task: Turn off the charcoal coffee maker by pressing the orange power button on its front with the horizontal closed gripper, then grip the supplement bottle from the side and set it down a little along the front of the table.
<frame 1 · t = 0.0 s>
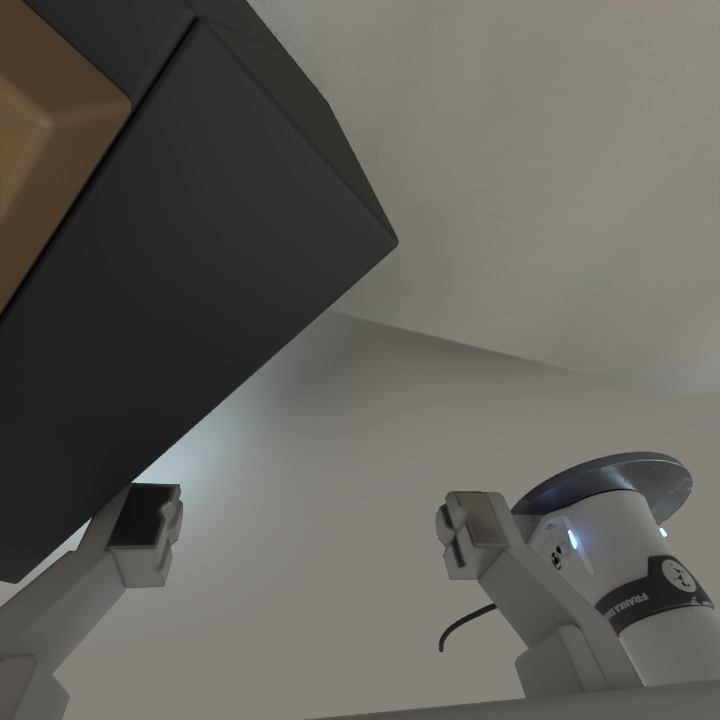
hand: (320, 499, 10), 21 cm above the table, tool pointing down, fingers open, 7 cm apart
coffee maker: (176, 96, 21), on the table
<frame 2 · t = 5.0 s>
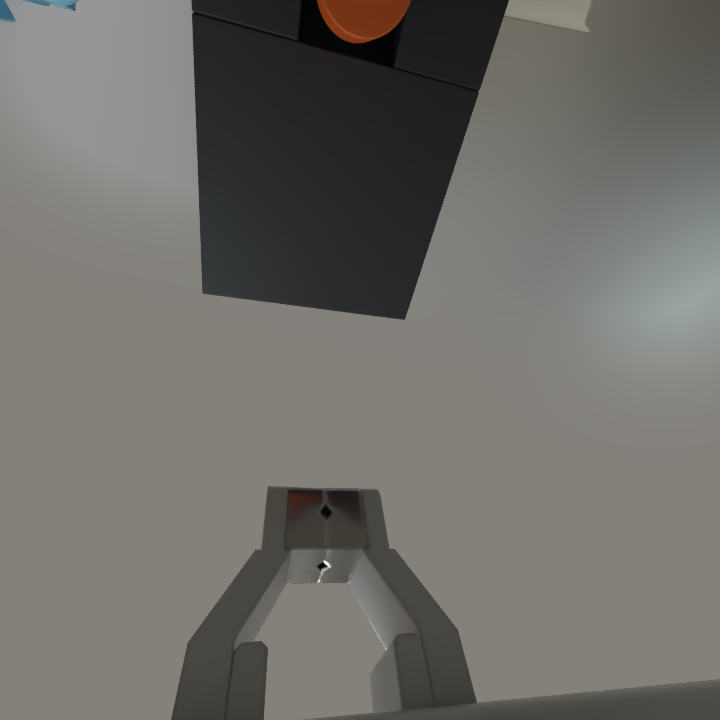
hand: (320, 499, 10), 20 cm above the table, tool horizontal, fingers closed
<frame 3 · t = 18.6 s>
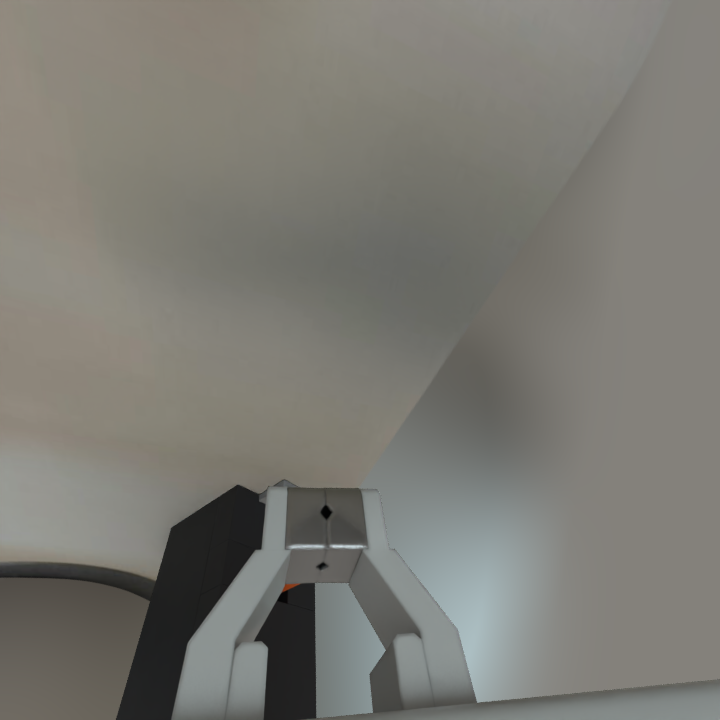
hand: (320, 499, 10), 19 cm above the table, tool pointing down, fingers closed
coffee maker: (244, 524, 47), on the table
power button: (284, 571, 38), point 8 cm above the table, slide at -0.1 cm
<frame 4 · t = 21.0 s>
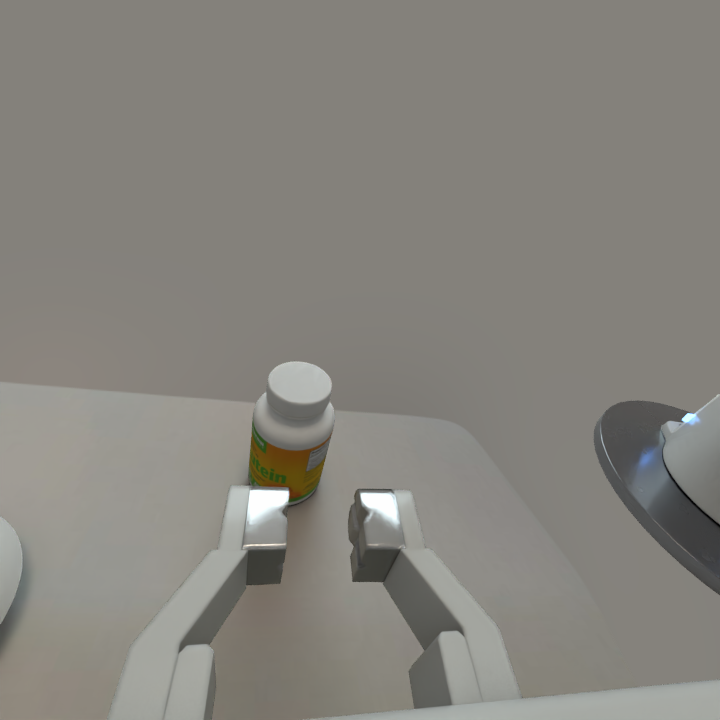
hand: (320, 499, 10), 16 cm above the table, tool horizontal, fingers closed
supplement bottle: (284, 477, 29), on the table
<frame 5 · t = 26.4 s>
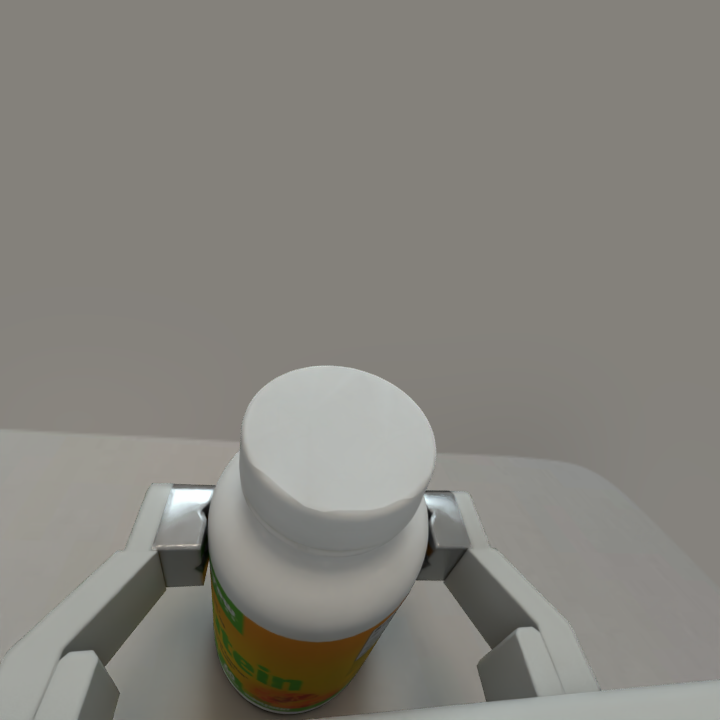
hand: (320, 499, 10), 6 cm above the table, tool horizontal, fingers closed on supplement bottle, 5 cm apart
supplement bottle: (295, 616, 13), on the table, touching gripper
when the fingers open (6 cm above the table, at t = 33.1 s): supplement bottle stays where it is, on the table.
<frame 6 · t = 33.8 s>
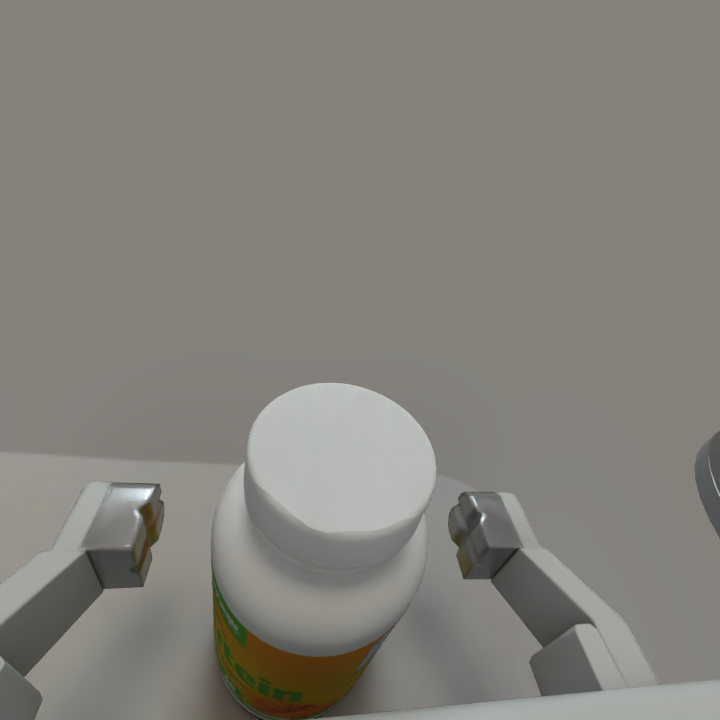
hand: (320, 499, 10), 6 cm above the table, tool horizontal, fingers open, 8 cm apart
supplement bottle: (294, 625, 14), on the table
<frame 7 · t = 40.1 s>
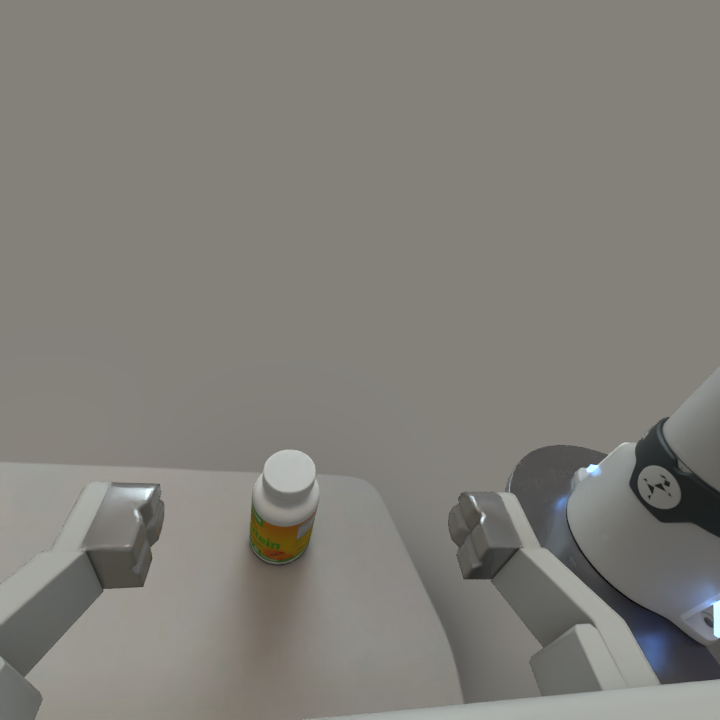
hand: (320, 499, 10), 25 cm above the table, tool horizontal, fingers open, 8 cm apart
supplement bottle: (280, 536, 35), on the table
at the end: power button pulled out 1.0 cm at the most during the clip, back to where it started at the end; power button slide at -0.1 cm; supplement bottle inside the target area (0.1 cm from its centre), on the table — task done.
